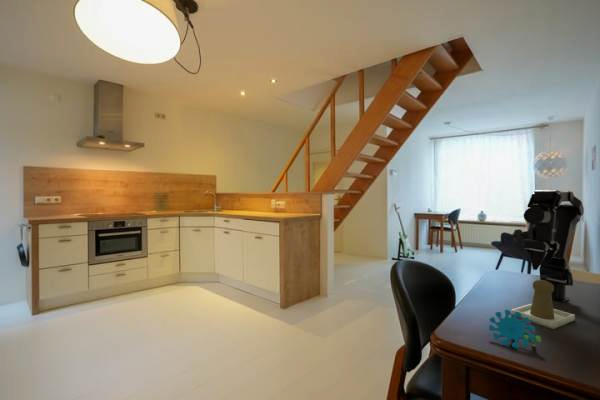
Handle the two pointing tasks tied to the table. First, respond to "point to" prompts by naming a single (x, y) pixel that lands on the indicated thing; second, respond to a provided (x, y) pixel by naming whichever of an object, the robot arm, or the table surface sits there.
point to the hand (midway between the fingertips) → (538, 268)
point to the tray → (559, 320)
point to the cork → (542, 300)
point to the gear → (513, 330)
